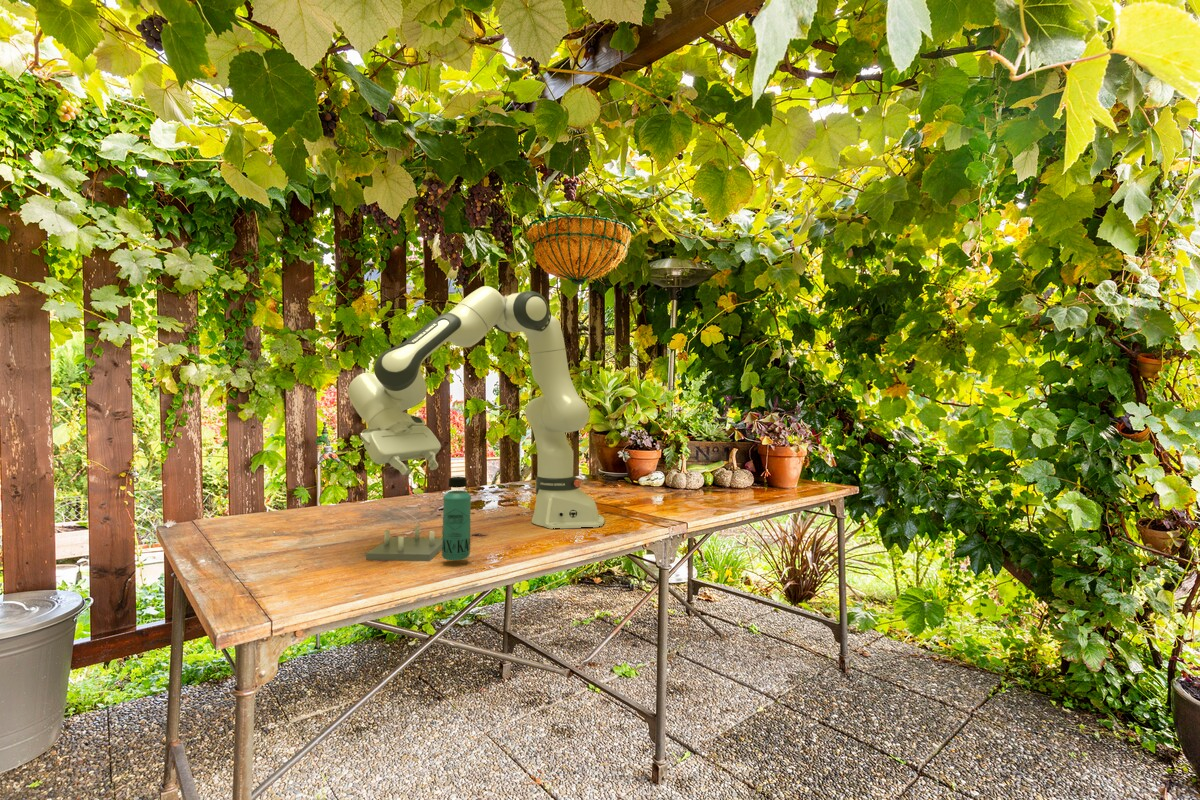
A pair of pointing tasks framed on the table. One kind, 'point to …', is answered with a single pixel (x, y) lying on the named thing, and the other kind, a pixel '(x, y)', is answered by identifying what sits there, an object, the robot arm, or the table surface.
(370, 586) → the table surface
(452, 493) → the beverage bottle
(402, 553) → the pin plate
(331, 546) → the table surface
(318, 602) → the table surface
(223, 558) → the table surface
